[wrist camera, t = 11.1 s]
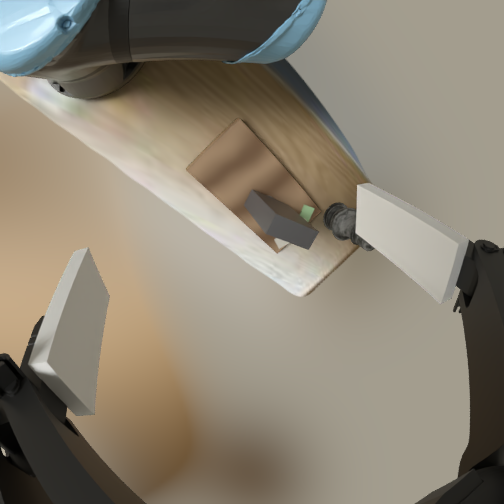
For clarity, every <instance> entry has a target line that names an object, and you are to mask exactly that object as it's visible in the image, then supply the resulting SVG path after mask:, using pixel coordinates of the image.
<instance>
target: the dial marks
mask: <svg viewBox="0 0 504 504" xmlns="http://www.w3.org/2000/svg"><path fill="white" fill-rule="evenodd" d="M314 209H315V208H312V207H310V206H307V205H304V206H303V208H302V210H301V212H300V216H301V217H303V218H305V219H306V221H307V222H309V220H310V218H311V215H312V213H313V211H314ZM274 240H275V242H276V244H277V246H278V248H279V249H280V248H282V247H284V246H285V245H287V244H289V242H286V241H283V240H281V239H278V238H276V239H274Z"/></svg>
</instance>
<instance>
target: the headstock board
mask: <svg viewBox="0 0 504 504" xmlns="http://www.w3.org/2000/svg"><path fill="white" fill-rule="evenodd" d="M186 170H187V171H188V172H189V173H190V174H191V175H192V176H193V177H194V178H195V179H196V180H198V181H199V182H200V183H201V184H202V185H203V186H204V187H205V188H206V189H207V190H209V191H210V192H211V193H212V194H213V195H214V196H215V197H216V198H217V199H218V200H220V201H221V202H222V203H223V204H224V205H225V206H226V207H227V208H228V209H229V210H231V211H232V212H233V213H234V214H235V215H236V216H237V217H238V218H239V219H240V220H241V221H243V222H244V223H245V224H246V225H247V226H248V227H249V228H250V229H251V230H252V231H253V232H254V233H256V234H257V235H258V236H259V237H260V238H261V239H262V240H263V241H264V242H265V243H266V244H267V245H269V246H270V247H271V248H272V249H273V250H274V251H275V252H276V253H278V252H279V251H281V250H282V249H283V248H284V247H285V246H286V245H285V246H284V247H282V248H280V249H279V248H278V246H277V244H276V242H275V240H274V239H276V238H275V237H273V236H270V235H267V234H265V232H264V231H263V230H262V228H261V227H260V226H259V225H258V223H257V222H256V221H255V219H254V218H253V217H252V215H251V214H250V213H249V211H248V210H247V209H246V208H245V206H244V204H245V202H246V200H247V198H248V196H249V194H250V192H251V190H255V191H257V192H259V193H262V194H264V195H269V196H271V197H272V198H273V199H276V200H278V201H280V202H283V203H285V204H287V205H289V206H290V207H291V208H292V209H293V210H295V211H296V212H297V213H298V214H299V215H300V212H301V210H302V208H303V206H304V205H307V206H310V207H312V208H315V209H314V211H313V213H312V215H311V218H310V220H309V222H308V223H310V222H311V221H312V220H313V219H314V218H315V217H316V216H317V215H318V214H319V213H320V212H321V211H320V209H319V208H318V207H317V206H316V205H315V203H314V202H313V201H312V200H311V198H310V197H309V196H308V195H307V194H306V192H305V191H304V190H303V189H302V188H301V186H300V185H299V184H298V183H297V182H296V180H295V179H294V178H293V177H292V176H291V175H290V173H289V172H288V171H287V170H286V169H285V168H284V167H283V165H282V164H281V163H280V162H279V161H278V160H277V159H276V157H275V156H274V155H273V154H272V153H271V152H270V151H269V150H268V148H267V147H266V146H265V145H264V144H263V143H262V142H261V141H260V140H259V139H258V138H257V136H256V135H255V134H254V133H253V132H252V131H251V130H250V129H249V128H248V127H247V126H246V125H245V124H244V123H243V122H242V120H241V119H239V118H237V119H236V120H235V121H234V122H233V123H231V124H230V125H229V126H228V127H227V128H226V129H225V130H224V131H223V132H222V133H221V134H220V135H219V136H218V137H217V138H216V139H215V140H214V141H213V142H212V143H211V144H210V145H208V146H207V147H206V148H205V149H204V150H203V151H202V152H201V153H200V154H199V155H198V156H197V158H196V159H195V160H194V161H193V162H192V163H191V164H190V165H189V166H188V167H187V168H186Z"/></svg>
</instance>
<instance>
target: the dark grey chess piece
mask: <svg viewBox="0 0 504 504" xmlns="http://www.w3.org/2000/svg"><path fill="white" fill-rule="evenodd" d="M356 212H357V210H355V209H353V208H347V206H346V205H344V204H343V203H335V204H332V205H331V206H330V207H329V208H328V209H327V210H326V212H325V214H324V219H323V220H324V225H325V226H326V228H327V229H329V230H332V233H333V235H334V236H335V238H337V239H338V240H342V241H343V240H348V239H351V242H352V243H353V244H356V245H359V246H361V247H362V248H363V249H365V250H366V251H371V250H373V249H375V248H374V247H373V246H371V245H370V244H369V243H368V242H366V241H365V240H364V239H363V238H361V237H360V236H359V235H357V234H356V233H355V232H356Z"/></svg>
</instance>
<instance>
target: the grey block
mask: <svg viewBox="0 0 504 504" xmlns="http://www.w3.org/2000/svg"><path fill="white" fill-rule="evenodd" d="M244 206H245V208H246V209H247V210H248V211H249V213H250V214H251V215H252V217H253V218H254V219H255V221H256V222H257V223H258V225H259V226H260V227H261V228H262V230H263V231H264V232H265V234H267V235H270V236H273V237H275V238H278V239H281V240H283V241H286V242H289V243H292V244H294V245H297V246H300V247H302V248H305V249H308V250H309V248H310V247H311V245H312V243H313V241H314V240H315V238H316V236H317V234H318V233H319V232H318V231H317V230H316V229H315V228H314V227H313V226H312V225H310V224H309V223H308V222H307V221H306V219H305V218H303V217H301V216H300V215H299V214H298V213H297V212H296V211H295V210H293V209H292V208H291V207H290V206H289V205H287V204H285V203H283V202H280V201H278V200H276V199H273V198H272V197H271V196H269V195H264V194H262V193H259V192H257V191H255V190H251V192H250V194H249V196H248V198H247V200H246V202H245V204H244Z"/></svg>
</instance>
